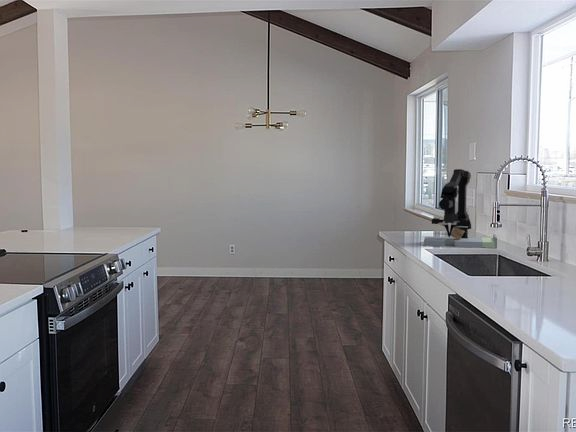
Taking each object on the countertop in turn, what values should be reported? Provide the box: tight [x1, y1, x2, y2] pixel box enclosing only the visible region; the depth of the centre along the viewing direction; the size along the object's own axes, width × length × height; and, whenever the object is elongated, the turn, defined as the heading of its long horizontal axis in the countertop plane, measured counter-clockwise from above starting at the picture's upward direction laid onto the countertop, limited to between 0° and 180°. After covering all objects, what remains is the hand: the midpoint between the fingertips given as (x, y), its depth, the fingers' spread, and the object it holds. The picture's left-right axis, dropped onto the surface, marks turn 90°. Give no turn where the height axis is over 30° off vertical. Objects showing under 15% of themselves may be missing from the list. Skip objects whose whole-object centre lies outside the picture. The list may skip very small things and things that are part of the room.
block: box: [450, 227, 465, 240], centre depth 294 cm, size 5×5×5 cm
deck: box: [423, 233, 498, 249], centre depth 296 cm, size 18×37×5 cm, turn 72°
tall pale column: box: [452, 199, 470, 232], centre depth 335 cm, size 11×4×22 cm, turn 76°
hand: (449, 237), depth 297 cm, fingers closed
